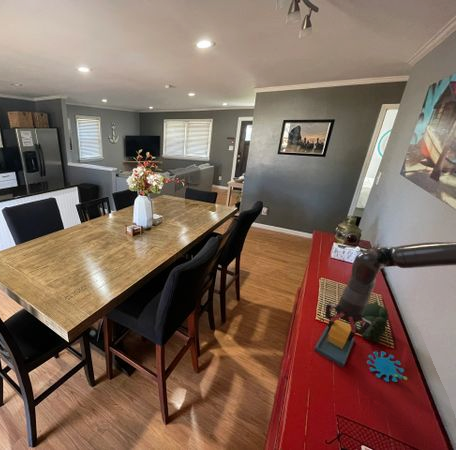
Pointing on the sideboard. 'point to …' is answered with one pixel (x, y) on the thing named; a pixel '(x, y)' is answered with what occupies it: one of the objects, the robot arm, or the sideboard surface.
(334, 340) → the pad
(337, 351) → the backing tray
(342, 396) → the sideboard surface
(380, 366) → the blue virus toy
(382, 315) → the green broccoli
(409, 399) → the sideboard surface
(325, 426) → the sideboard surface
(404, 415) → the sideboard surface
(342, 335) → the pad
